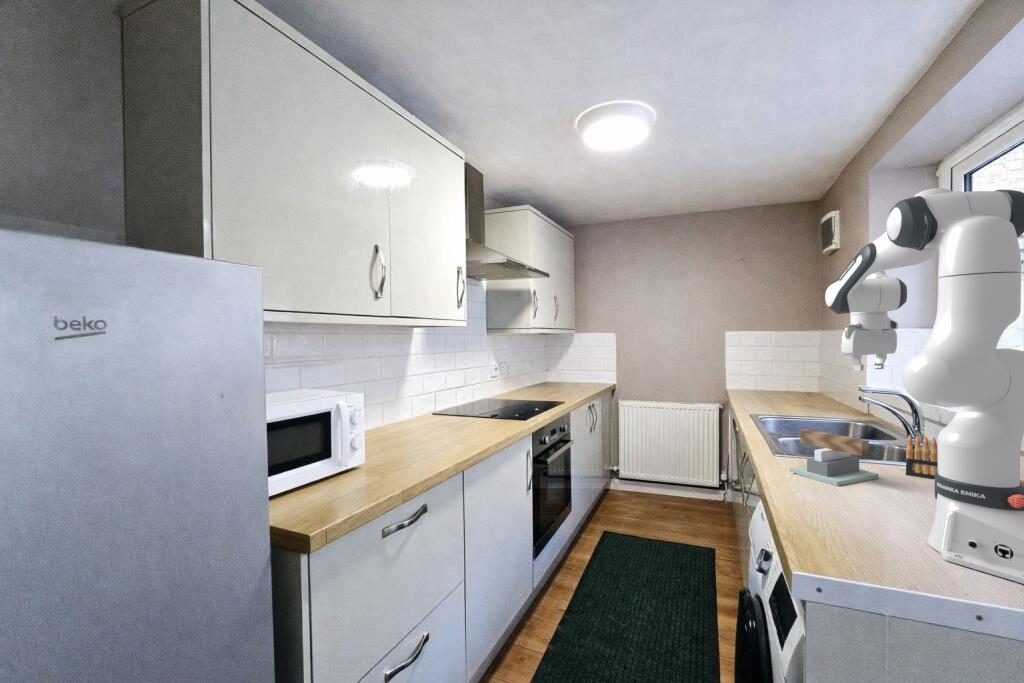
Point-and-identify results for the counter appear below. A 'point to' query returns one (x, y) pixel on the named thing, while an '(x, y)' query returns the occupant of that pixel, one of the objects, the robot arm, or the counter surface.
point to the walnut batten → (835, 442)
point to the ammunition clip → (921, 458)
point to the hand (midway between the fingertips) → (869, 369)
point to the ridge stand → (834, 468)
